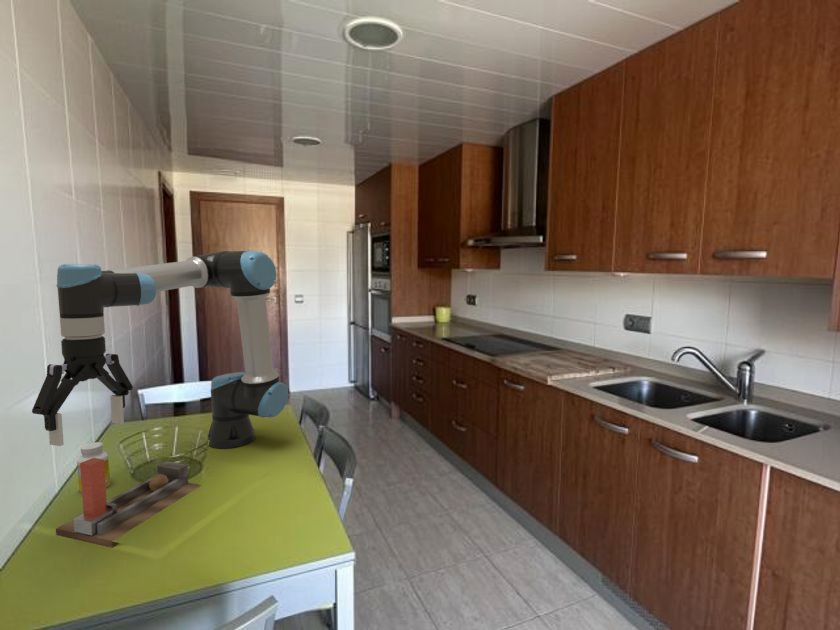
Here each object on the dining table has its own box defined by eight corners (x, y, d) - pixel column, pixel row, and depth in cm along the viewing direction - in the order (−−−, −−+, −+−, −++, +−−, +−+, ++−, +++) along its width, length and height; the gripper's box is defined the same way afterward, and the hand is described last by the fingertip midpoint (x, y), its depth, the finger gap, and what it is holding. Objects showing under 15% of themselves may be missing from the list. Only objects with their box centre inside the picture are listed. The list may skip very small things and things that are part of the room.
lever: (100, 517, 104) (96, 454, 103) (117, 520, 103) (113, 457, 101) (74, 531, 98) (69, 465, 97) (91, 535, 97) (87, 468, 95)
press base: (154, 482, 125) (152, 459, 124) (202, 490, 121) (201, 467, 120) (56, 535, 100) (54, 507, 99) (112, 547, 96) (110, 518, 95)
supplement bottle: (104, 484, 124) (101, 438, 122) (114, 491, 120) (111, 444, 118) (75, 493, 118) (71, 446, 117) (85, 501, 114) (81, 452, 113)
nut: (159, 486, 120) (158, 470, 119) (172, 488, 118) (172, 472, 118) (145, 494, 115) (144, 477, 115) (159, 496, 114) (158, 480, 114)
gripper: (122, 328, 109) (126, 414, 111) (3, 344, 85) (11, 453, 87) (147, 330, 107) (151, 417, 109) (32, 347, 83) (40, 458, 85)
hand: (89, 433), depth 98 cm, fingers open, 13 cm apart
